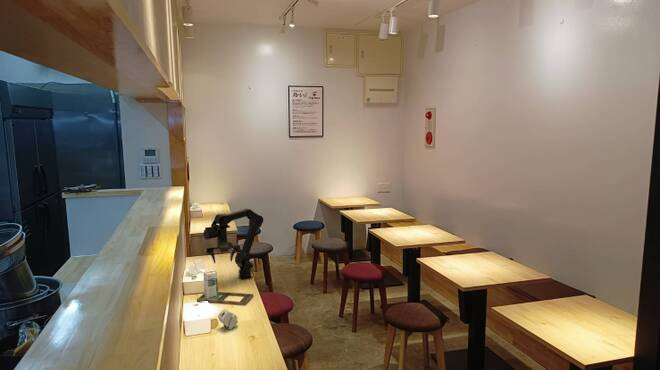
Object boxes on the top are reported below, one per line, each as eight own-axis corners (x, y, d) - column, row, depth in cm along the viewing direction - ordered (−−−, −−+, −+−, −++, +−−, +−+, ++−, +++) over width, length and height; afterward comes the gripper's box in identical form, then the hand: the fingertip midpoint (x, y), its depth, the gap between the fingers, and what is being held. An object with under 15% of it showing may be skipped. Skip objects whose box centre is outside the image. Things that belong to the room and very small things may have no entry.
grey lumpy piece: (227, 328, 204) (213, 317, 199) (236, 316, 206) (223, 304, 201) (233, 333, 199) (219, 321, 194) (242, 320, 202) (229, 309, 197)
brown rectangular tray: (253, 296, 236) (253, 294, 236) (245, 305, 225) (245, 302, 225) (207, 293, 241) (207, 290, 241) (197, 301, 230) (196, 299, 230)
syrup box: (207, 300, 231) (206, 274, 229) (204, 297, 236) (203, 271, 234) (218, 298, 234) (217, 272, 232) (214, 294, 239) (213, 269, 237)
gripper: (207, 241, 240) (208, 268, 242) (241, 237, 247) (242, 264, 249) (204, 236, 250) (205, 263, 252) (237, 233, 257) (238, 259, 259)
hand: (223, 262), depth 253 cm, fingers open, 9 cm apart
